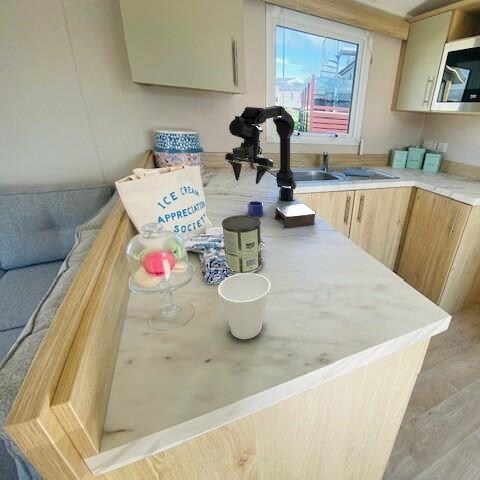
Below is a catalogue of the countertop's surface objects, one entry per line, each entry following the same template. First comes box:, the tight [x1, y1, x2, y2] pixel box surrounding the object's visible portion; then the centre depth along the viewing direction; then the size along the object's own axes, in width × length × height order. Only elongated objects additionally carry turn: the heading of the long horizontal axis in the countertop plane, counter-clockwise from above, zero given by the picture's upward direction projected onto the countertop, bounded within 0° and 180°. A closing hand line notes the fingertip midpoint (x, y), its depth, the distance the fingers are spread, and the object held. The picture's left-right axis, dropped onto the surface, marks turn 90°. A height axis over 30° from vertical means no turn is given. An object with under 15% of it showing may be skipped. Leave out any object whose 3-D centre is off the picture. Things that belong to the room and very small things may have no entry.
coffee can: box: [221, 214, 262, 275], centre depth 78 cm, size 10×10×14 cm
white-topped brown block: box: [274, 204, 316, 229], centre depth 116 cm, size 13×12×5 cm
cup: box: [217, 272, 272, 340], centre depth 55 cm, size 10×10×11 cm
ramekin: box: [247, 200, 264, 218], centre depth 120 cm, size 6×6×5 cm
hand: (246, 182), depth 109 cm, fingers open, 9 cm apart
